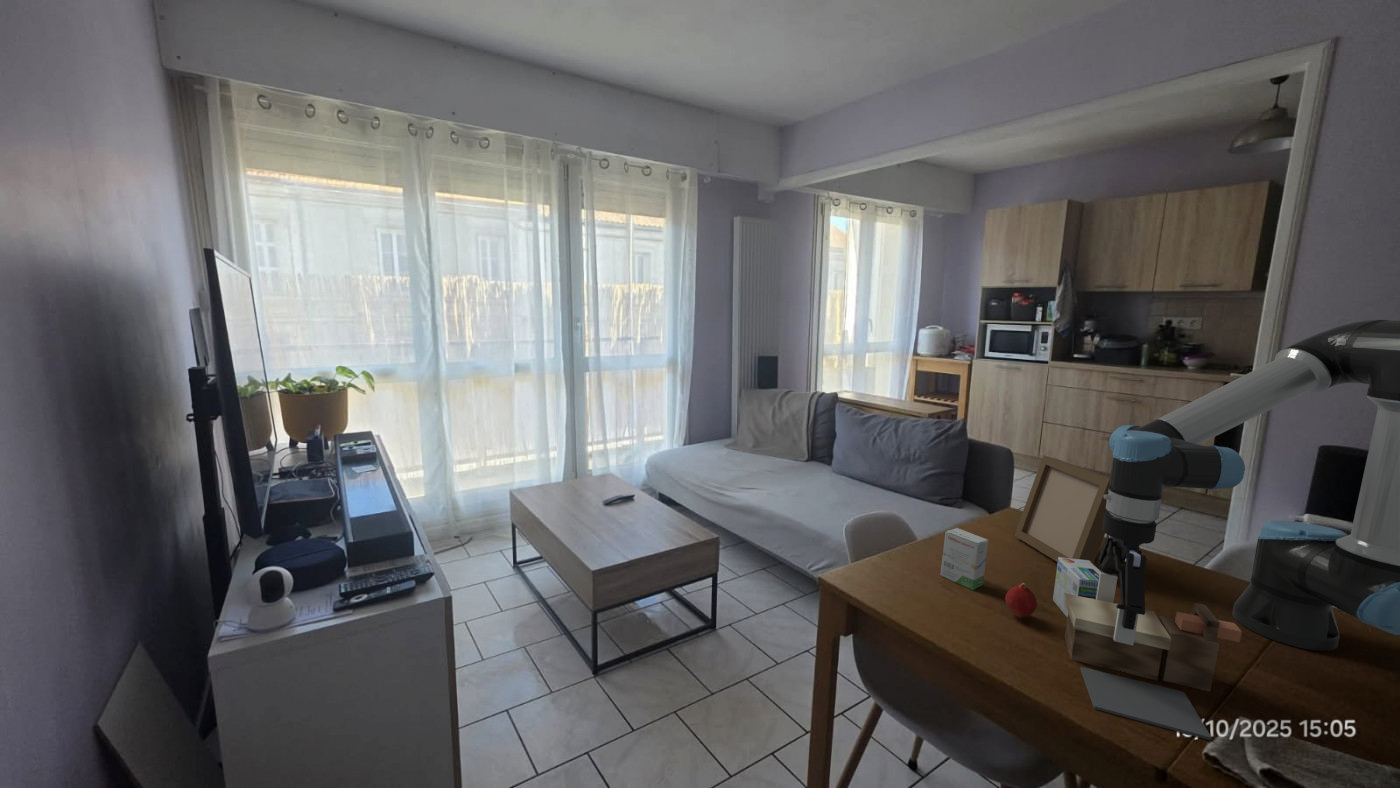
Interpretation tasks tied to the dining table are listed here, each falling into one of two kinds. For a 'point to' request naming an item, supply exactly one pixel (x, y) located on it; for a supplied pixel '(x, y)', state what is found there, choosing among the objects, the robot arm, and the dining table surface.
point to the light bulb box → (1075, 580)
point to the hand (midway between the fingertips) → (1112, 622)
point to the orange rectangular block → (1197, 625)
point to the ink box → (964, 558)
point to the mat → (1143, 702)
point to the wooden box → (1154, 652)
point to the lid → (1114, 621)
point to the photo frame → (1065, 511)
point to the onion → (1021, 600)
